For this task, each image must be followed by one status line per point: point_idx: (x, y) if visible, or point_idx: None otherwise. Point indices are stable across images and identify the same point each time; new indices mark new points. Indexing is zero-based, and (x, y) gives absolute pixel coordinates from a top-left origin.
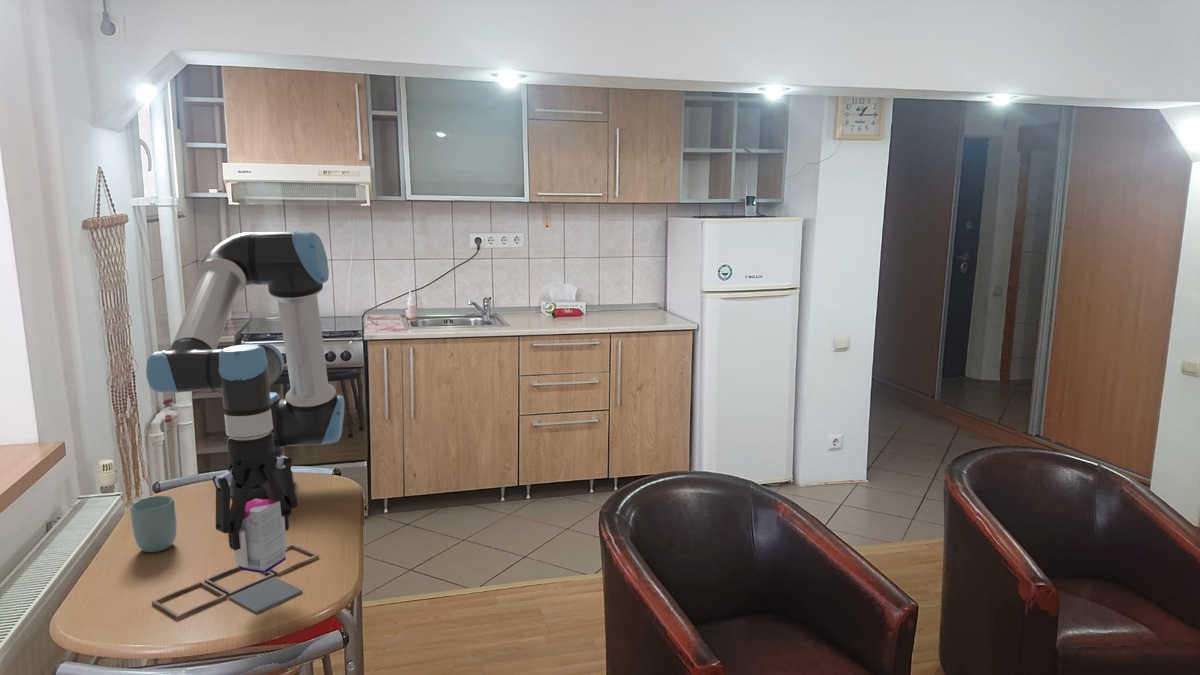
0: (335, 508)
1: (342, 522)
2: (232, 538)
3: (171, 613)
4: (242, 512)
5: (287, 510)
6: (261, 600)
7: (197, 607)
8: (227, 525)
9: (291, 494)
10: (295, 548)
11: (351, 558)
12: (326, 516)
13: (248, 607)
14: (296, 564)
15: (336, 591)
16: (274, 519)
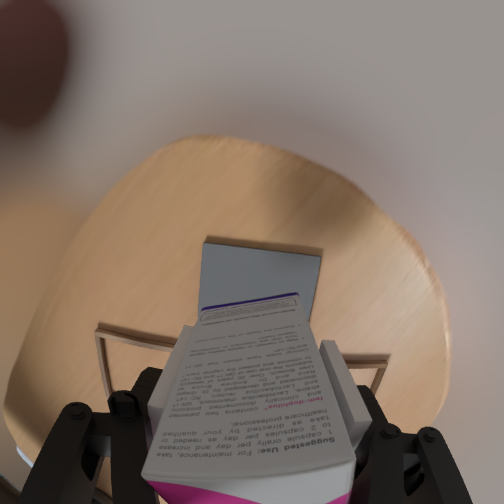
0: (26, 404)
1: (28, 373)
2: (383, 417)
3: (381, 378)
4: (378, 493)
5: (119, 416)
6: (282, 288)
7: (355, 364)
8: (431, 449)
9: (60, 459)
10: (109, 387)
11: (63, 266)
12: (40, 403)
13: (314, 288)
14: (140, 342)
15: (162, 175)
16: (217, 408)
